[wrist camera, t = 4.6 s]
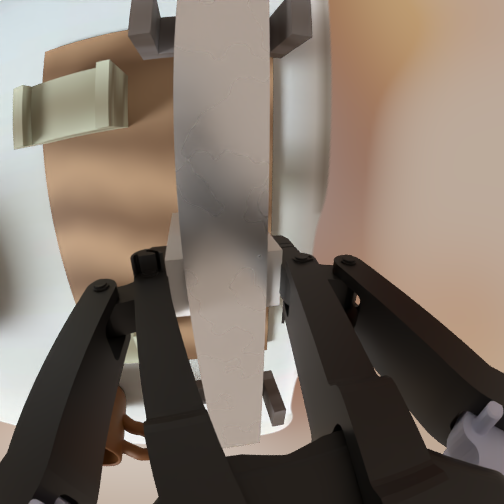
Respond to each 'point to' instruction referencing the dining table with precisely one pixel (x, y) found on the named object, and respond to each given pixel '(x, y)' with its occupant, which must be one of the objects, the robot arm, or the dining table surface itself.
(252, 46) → the rail
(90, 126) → the rack
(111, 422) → the mug
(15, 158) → the dining table surface
